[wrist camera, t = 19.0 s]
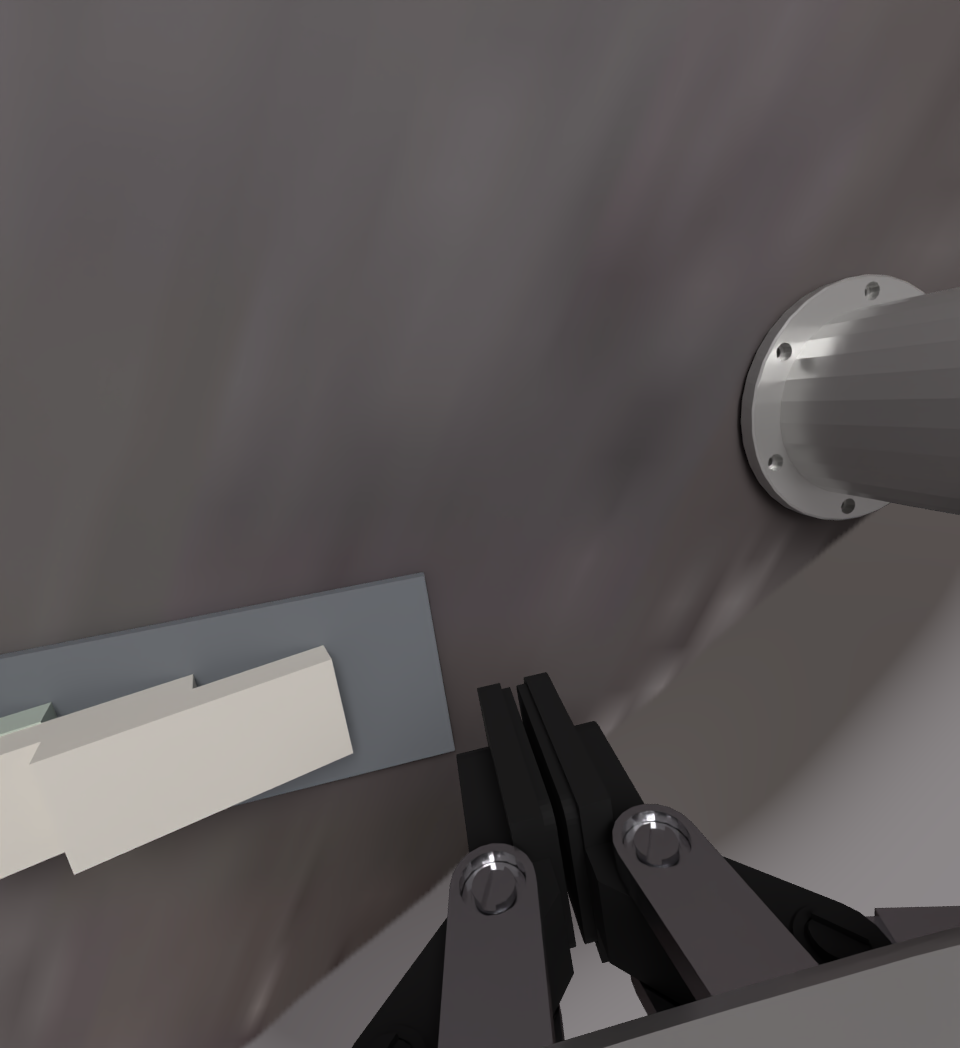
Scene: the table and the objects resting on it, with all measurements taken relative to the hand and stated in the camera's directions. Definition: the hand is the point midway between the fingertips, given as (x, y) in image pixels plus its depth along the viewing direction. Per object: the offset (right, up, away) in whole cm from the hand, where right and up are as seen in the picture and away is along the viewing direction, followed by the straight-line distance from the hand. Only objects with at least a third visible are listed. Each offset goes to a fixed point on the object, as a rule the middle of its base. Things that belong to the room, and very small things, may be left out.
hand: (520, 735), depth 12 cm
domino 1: (-8, -3, +13) cm, 15 cm away
